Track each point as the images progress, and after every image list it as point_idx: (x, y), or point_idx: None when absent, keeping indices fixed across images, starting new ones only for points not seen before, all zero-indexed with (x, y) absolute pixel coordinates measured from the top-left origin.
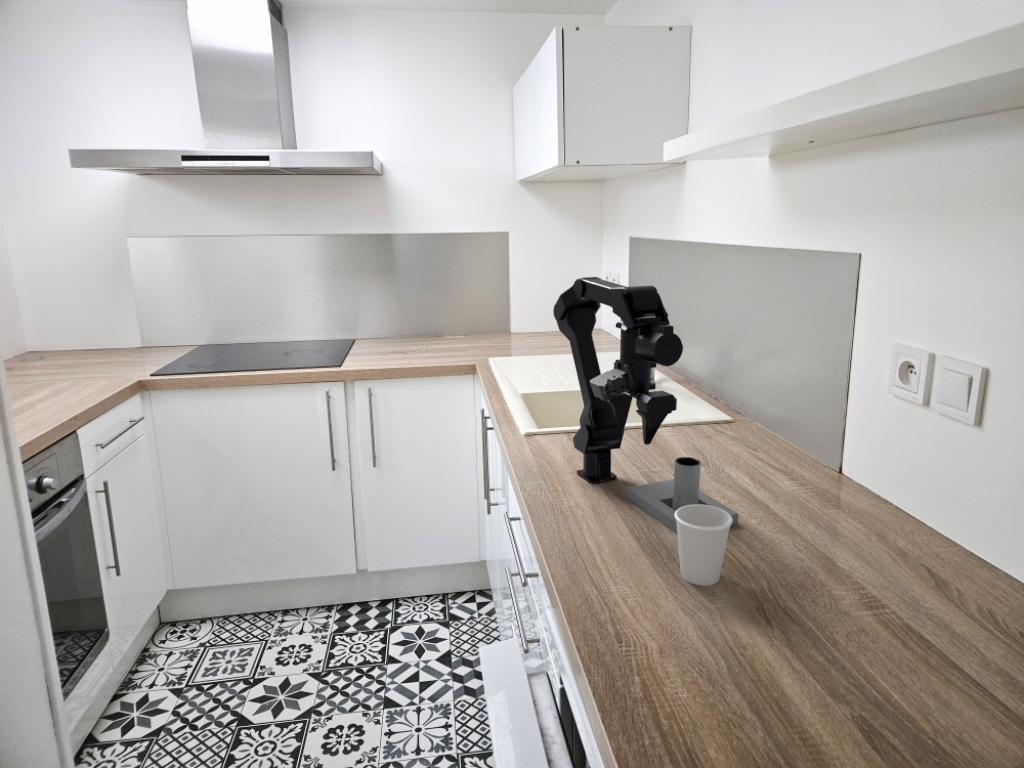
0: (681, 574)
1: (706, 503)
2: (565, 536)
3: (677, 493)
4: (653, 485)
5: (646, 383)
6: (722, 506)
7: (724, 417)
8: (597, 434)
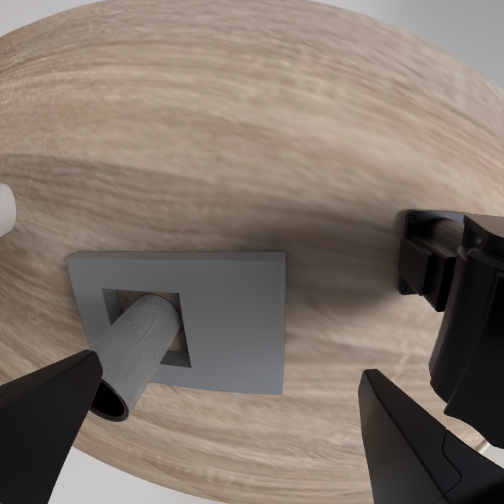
0: (2, 183)
1: None
2: (146, 30)
3: (120, 321)
4: (268, 331)
5: None
6: None
7: None
8: (473, 275)
